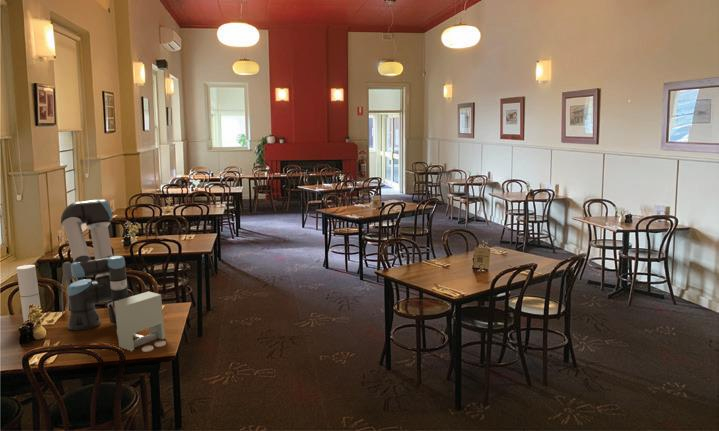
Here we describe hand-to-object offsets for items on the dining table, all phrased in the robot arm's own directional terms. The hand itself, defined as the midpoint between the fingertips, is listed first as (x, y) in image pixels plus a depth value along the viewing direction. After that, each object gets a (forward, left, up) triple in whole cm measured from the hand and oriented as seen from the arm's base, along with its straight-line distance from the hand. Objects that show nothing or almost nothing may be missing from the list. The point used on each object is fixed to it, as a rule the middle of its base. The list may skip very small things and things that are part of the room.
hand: (123, 333), depth 286 cm
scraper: (+8, 0, -1) cm, 8 cm away
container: (-61, -15, -1) cm, 63 cm away
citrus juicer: (-53, +1, -1) cm, 53 cm away
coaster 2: (+25, +3, -1) cm, 25 cm away
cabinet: (+16, 0, -1) cm, 16 cm away
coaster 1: (+25, -4, -1) cm, 26 cm away
